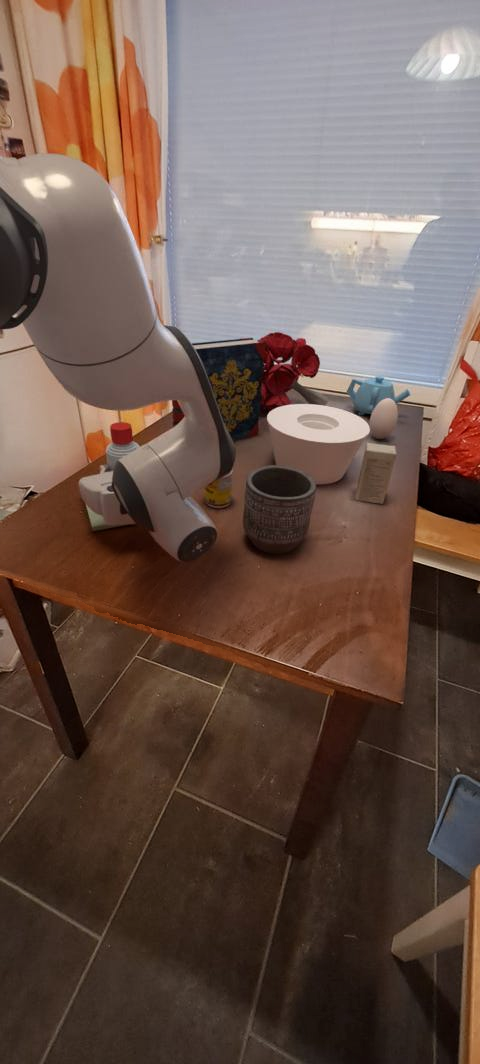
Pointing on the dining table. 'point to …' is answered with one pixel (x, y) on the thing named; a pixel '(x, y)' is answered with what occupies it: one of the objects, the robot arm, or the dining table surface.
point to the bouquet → (287, 370)
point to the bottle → (118, 452)
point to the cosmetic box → (375, 472)
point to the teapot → (373, 393)
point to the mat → (98, 521)
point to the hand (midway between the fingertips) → (123, 464)
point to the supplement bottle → (219, 492)
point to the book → (233, 383)
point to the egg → (383, 418)
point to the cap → (121, 433)
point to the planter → (278, 507)
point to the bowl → (316, 439)
